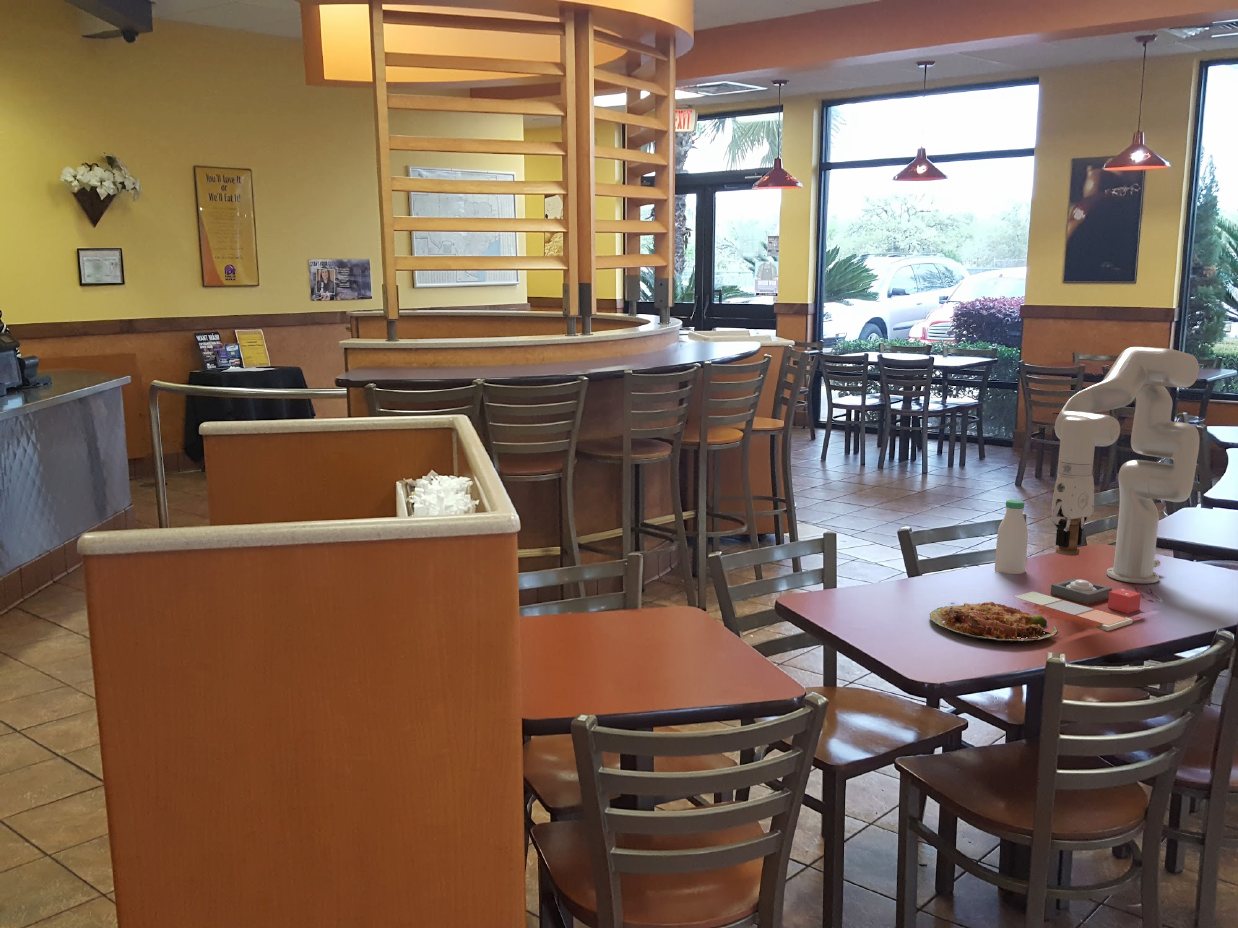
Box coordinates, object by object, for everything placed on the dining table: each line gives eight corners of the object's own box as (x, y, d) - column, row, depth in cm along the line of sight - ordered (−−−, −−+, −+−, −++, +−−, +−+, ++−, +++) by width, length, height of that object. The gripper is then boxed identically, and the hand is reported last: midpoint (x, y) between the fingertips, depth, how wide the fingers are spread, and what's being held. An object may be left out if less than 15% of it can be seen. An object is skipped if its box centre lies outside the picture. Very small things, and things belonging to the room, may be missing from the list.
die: (1119, 608, 257) (1121, 587, 256) (1138, 613, 253) (1141, 592, 252) (1107, 611, 254) (1109, 590, 253) (1127, 617, 250) (1129, 595, 249)
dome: (1076, 586, 268) (1077, 575, 267) (1102, 594, 262) (1103, 582, 261) (1059, 591, 264) (1060, 580, 263) (1085, 598, 258) (1086, 587, 257)
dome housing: (1073, 591, 270) (1075, 578, 269) (1110, 601, 262) (1111, 588, 261) (1050, 597, 264) (1051, 584, 264) (1087, 608, 256) (1088, 594, 256)
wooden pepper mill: (1064, 548, 256) (1068, 505, 254) (1083, 553, 252) (1088, 509, 250) (1051, 551, 253) (1054, 507, 251) (1070, 556, 249) (1074, 511, 247)
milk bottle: (1029, 577, 282) (1035, 504, 278) (999, 577, 282) (1005, 504, 278) (1018, 569, 289) (1024, 498, 285) (990, 569, 289) (995, 497, 286)
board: (1033, 594, 267) (1033, 590, 267) (1132, 623, 246) (1132, 618, 246) (1008, 600, 262) (1009, 596, 261) (1107, 630, 240) (1107, 626, 240)
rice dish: (952, 606, 262) (953, 584, 261) (1071, 623, 246) (1072, 601, 245) (911, 636, 240) (911, 613, 239) (1038, 658, 223) (1039, 633, 223)
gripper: (1067, 475, 241) (1060, 553, 245) (1111, 468, 250) (1103, 544, 253) (1038, 470, 247) (1032, 546, 251) (1082, 463, 256) (1075, 537, 260)
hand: (1068, 544), depth 252 cm, fingers closed on wooden pepper mill, 4 cm apart
